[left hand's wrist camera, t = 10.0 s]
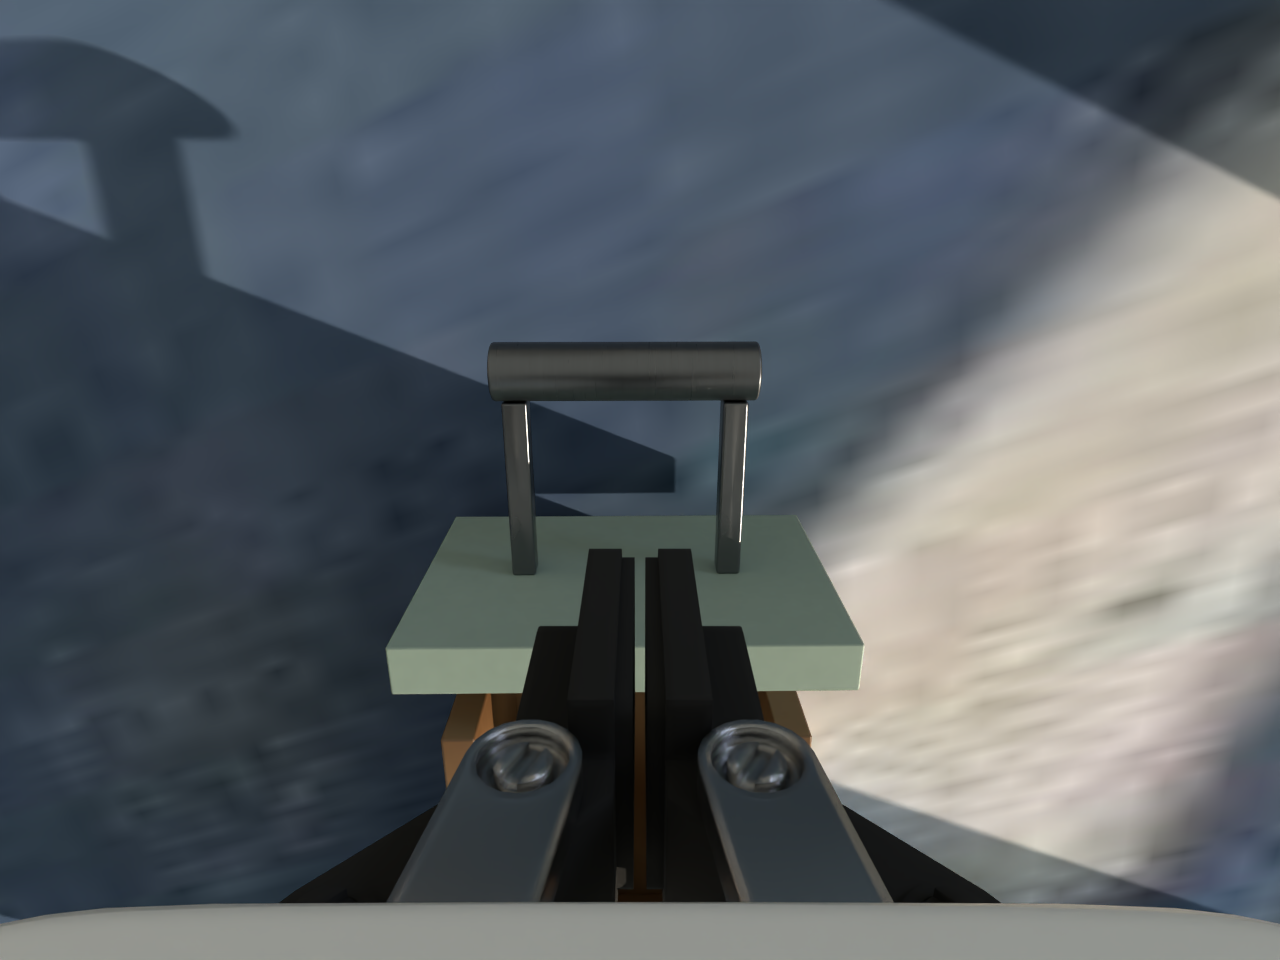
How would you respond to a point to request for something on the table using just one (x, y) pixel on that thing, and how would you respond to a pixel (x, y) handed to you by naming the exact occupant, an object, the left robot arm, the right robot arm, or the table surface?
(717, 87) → the table surface
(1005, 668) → the table surface
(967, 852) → the table surface
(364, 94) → the table surface
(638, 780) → the drawer
